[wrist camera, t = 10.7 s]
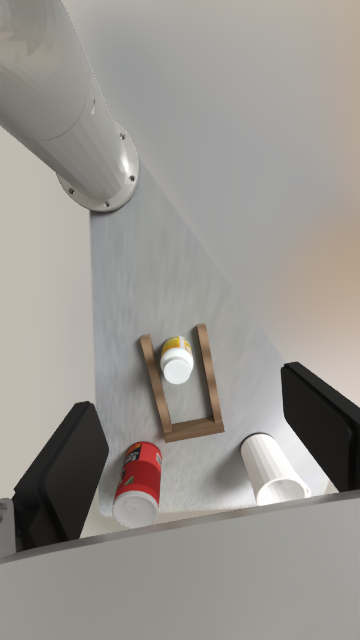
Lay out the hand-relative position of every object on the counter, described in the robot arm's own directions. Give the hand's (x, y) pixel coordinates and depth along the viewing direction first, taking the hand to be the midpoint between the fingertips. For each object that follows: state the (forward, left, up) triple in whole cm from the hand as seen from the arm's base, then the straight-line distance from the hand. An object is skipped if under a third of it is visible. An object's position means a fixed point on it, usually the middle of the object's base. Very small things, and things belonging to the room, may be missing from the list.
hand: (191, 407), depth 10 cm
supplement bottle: (+8, -2, -28) cm, 29 cm away
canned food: (+31, -14, -28) cm, 44 cm away
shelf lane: (+15, -2, -28) cm, 32 cm away
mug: (+35, +12, -28) cm, 46 cm away
